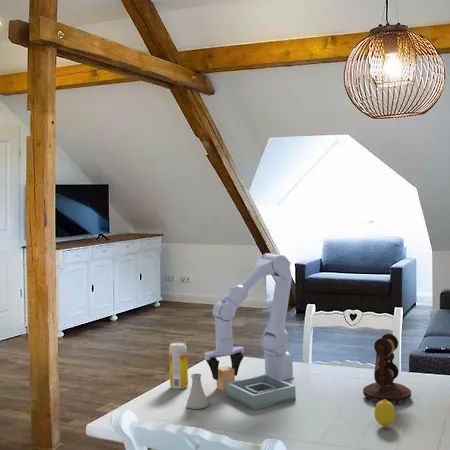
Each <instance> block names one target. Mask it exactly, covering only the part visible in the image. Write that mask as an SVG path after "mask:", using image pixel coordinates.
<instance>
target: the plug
mask: <svg viewBox="0 0 450 450" xmlns="http://www.w3.org/2000/svg"><path fill="white" fill-rule="evenodd" d="M235 377H236V376H235V374H234V368H232V366H228V365H225V366H221V367H219V366H218V380H216V389H217V390H219V391H220V392H223V393H225V392H226V383H228V382H233V381H236V379H235Z"/></svg>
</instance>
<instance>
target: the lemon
mask: <svg viewBox="0 0 450 450" xmlns="http://www.w3.org/2000/svg"><path fill="white" fill-rule="evenodd" d="M395 417H396V411H395V406H394V405H393V403H392V402H389V401H387V400H385V399H384V400H382V401H378V402H377V403H376V404H375V408H374V418H375V421H376V422H377V424H379V425H381V426H382V427H383V428H387V427H389V426H391V425H392V424H393V423H394V421H395V419H396V418H395Z"/></svg>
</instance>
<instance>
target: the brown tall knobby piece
mask: <svg viewBox="0 0 450 450" xmlns="http://www.w3.org/2000/svg"><path fill="white" fill-rule="evenodd" d="M398 346H399V341H398V338H397V336H395V335H394V334H392V333H386V334H383V335H382V337H381V338H378V339H377V340H375V342H374V344H373V347H374V348H373V349H374V350H375V365H374V373H373V375H374V376H373V377H374V381H375V382H372V383H369V384H368V385H365V386H364V387H363V389H362V394H363V396H364V397H365V399H366V401H367V402H368V401H369V400H374V401H378V402H380V401H382V400H384V399H385V400H387V401H389V402H390V403H392V402H393V403H394V402H395V404H396V406H399V404H400V402H402V401H406V400H408V399H410V398H411V397H412V390H411V389H410V388H409V387H407V386H406V385H404V384H401V383H399V382H398V383H396V382H394V381H395V379H396V378H398V376H399V369H398V365H396V364H395V363H394V359H395V353H394V351H396V350H397V349H398Z"/></svg>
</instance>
